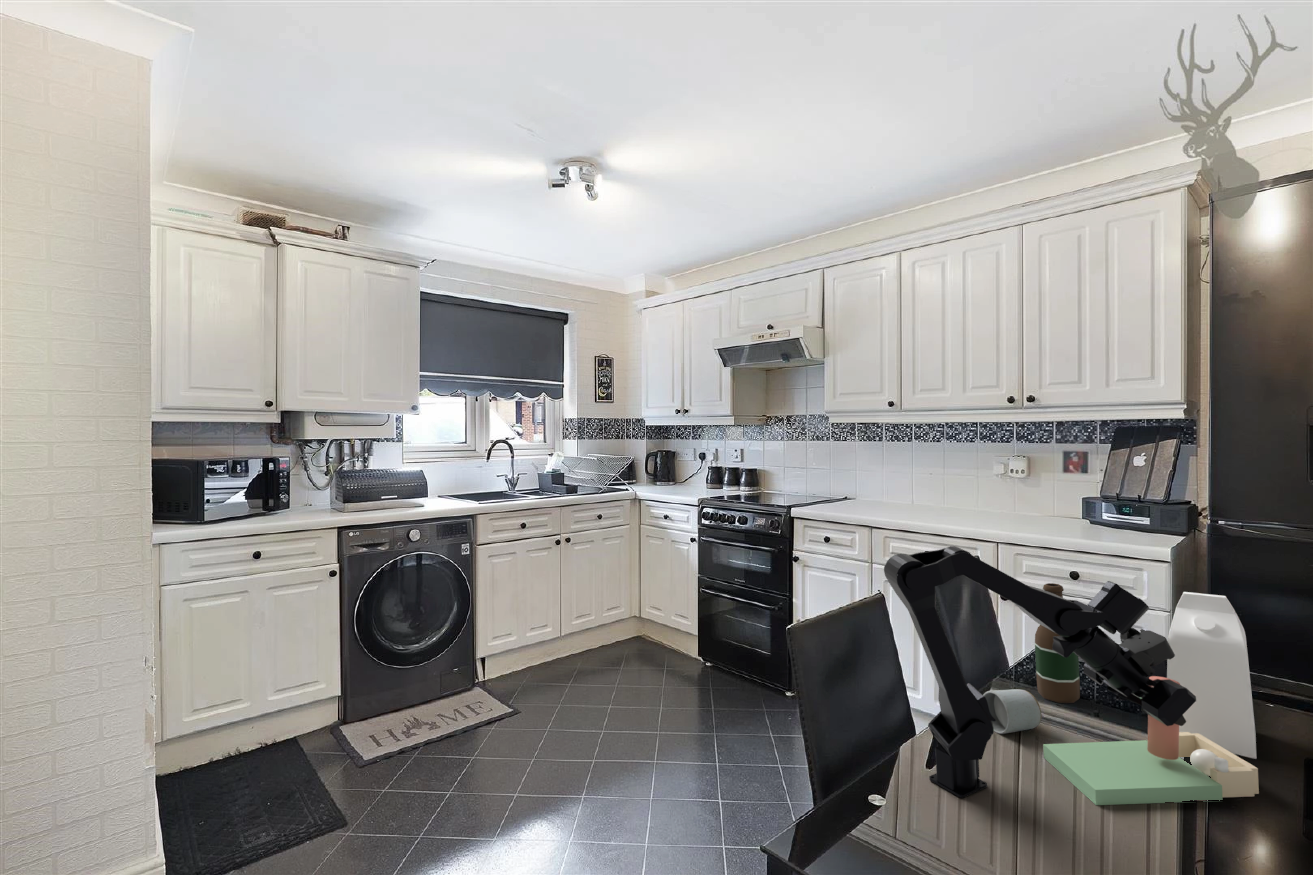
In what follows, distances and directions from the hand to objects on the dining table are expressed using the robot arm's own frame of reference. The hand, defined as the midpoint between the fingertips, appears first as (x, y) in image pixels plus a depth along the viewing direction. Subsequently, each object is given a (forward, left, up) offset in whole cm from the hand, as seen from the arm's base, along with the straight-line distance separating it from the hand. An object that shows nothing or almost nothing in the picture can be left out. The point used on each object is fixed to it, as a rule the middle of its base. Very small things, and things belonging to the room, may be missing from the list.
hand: (1173, 717), depth 103 cm
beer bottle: (+14, +28, -10) cm, 32 cm away
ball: (+4, -2, -8) cm, 9 cm away
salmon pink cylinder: (-2, +1, -6) cm, 6 cm away
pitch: (-7, +4, -10) cm, 12 cm away
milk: (+20, +4, -10) cm, 23 cm away
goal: (+4, -2, -10) cm, 11 cm away
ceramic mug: (-7, +25, -10) cm, 28 cm away
